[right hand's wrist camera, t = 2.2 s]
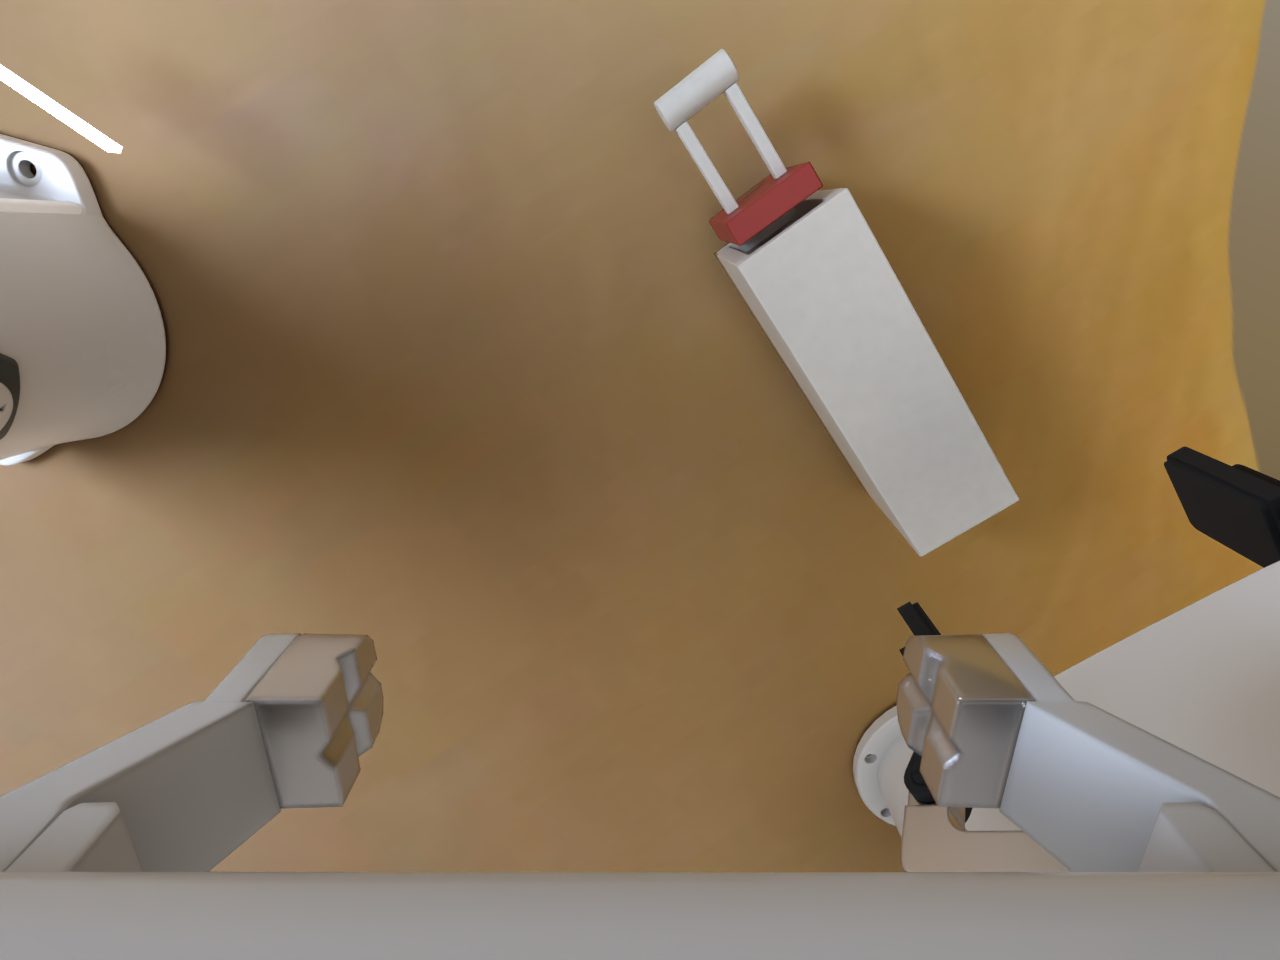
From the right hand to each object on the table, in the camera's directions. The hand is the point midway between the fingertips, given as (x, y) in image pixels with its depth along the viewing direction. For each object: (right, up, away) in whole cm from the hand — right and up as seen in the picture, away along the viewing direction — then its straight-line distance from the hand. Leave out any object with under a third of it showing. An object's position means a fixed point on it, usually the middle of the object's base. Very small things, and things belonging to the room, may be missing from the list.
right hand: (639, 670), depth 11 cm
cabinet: (+11, +10, +30) cm, 34 cm away
